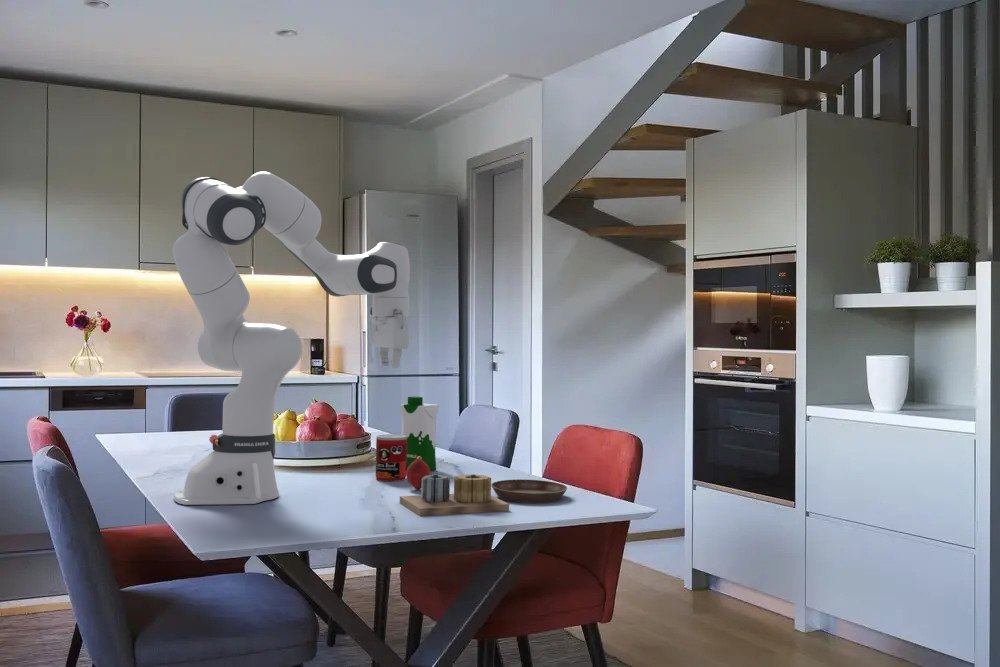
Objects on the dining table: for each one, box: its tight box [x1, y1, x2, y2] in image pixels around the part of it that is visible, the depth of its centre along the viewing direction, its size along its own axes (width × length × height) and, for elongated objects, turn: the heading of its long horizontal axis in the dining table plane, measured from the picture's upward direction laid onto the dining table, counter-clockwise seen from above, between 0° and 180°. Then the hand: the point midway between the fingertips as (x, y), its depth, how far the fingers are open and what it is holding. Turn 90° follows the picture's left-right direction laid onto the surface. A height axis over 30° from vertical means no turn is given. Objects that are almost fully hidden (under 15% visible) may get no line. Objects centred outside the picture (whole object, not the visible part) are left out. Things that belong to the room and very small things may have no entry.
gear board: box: [399, 473, 510, 517], centre depth 210 cm, size 20×15×7 cm
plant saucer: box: [491, 478, 568, 504], centre depth 224 cm, size 18×18×3 cm
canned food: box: [375, 433, 407, 482], centre depth 246 cm, size 8×8×11 cm
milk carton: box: [399, 396, 440, 472], centre depth 261 cm, size 9×9×20 cm
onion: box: [406, 456, 432, 491], centre depth 231 cm, size 6×6×8 cm
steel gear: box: [420, 474, 451, 502], centre depth 210 cm, size 6×6×5 cm
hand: (389, 366), depth 234 cm, fingers open, 8 cm apart
